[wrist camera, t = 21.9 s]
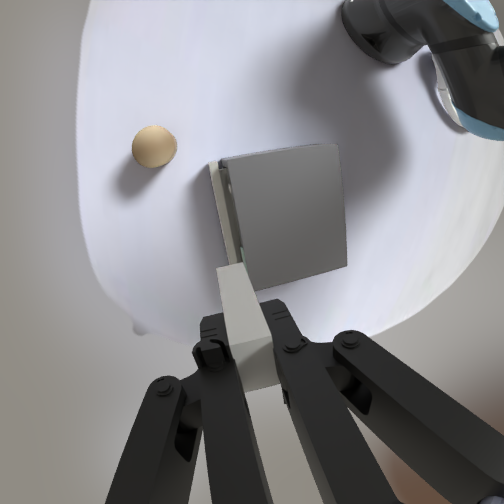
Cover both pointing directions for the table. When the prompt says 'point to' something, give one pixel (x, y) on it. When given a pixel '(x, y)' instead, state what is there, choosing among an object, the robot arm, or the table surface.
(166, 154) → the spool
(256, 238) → the housing
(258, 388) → the robot arm
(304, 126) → the table surface
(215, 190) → the tray
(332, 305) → the table surface
